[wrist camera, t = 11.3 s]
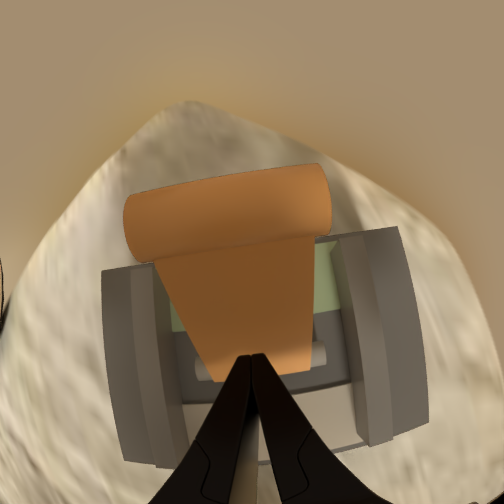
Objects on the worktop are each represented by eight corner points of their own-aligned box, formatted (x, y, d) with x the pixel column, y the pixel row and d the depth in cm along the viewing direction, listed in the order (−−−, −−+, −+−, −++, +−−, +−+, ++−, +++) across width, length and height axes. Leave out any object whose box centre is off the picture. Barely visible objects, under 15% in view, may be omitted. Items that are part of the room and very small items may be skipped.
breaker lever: (327, 375, 12) (348, 179, 6) (201, 391, 12) (102, 220, 6) (318, 342, 14) (323, 152, 8) (202, 357, 14) (126, 186, 8)
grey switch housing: (396, 406, 16) (449, 431, 9) (154, 438, 17) (104, 473, 10) (371, 251, 20) (414, 208, 13) (136, 286, 20) (79, 260, 13)
